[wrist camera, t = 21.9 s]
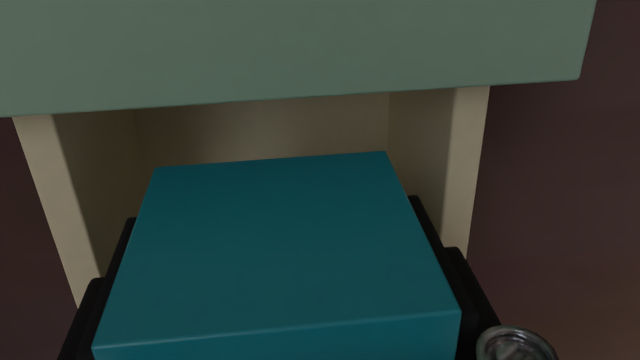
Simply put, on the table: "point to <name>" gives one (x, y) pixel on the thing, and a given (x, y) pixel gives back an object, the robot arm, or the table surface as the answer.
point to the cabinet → (274, 49)
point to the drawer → (245, 156)
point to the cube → (279, 267)
